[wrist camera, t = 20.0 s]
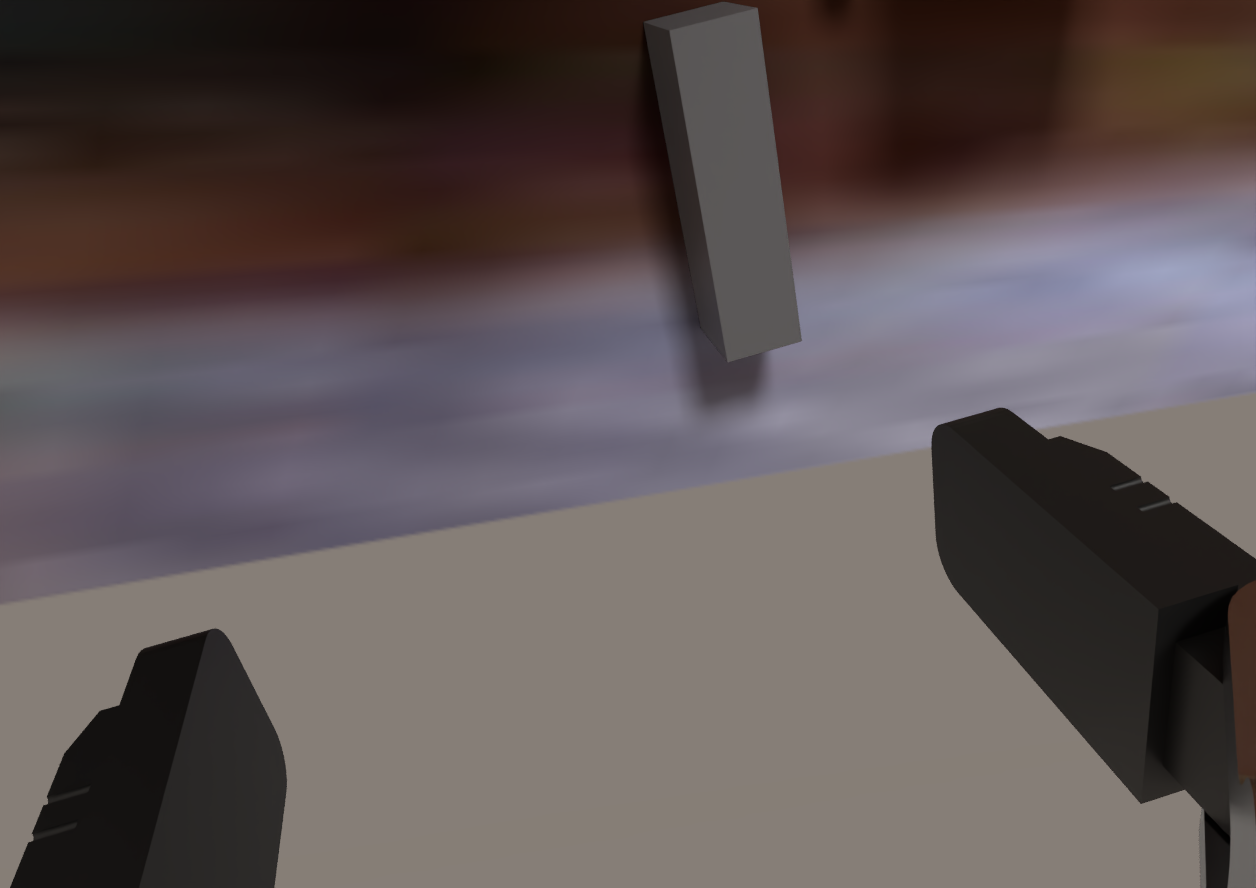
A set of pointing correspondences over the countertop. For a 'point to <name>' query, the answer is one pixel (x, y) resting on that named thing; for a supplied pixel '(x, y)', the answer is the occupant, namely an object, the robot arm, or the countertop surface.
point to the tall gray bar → (726, 175)
